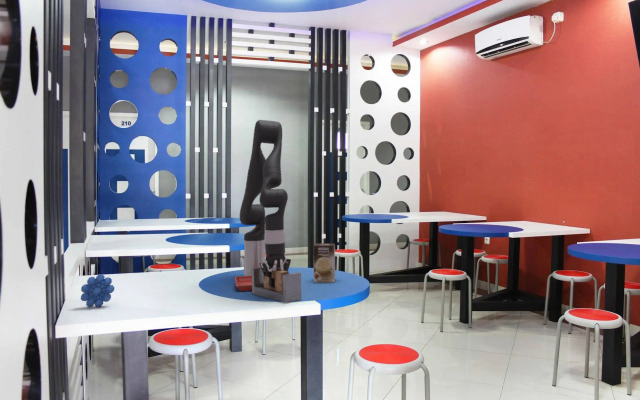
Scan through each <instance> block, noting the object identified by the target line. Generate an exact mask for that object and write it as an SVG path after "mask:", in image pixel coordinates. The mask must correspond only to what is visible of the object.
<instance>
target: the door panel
mask: <svg viewBox="0 0 640 400" xmlns="http://www.w3.org/2000/svg"><path fill="white" fill-rule="evenodd" d="M286 274H290V271H289V270H288V271H283V270H277V269H276V271H275V274H274V278H275V288H271V287H270V286H269V278H268V277H265V276H264V288H266V289H271V290H275V291H279V292H283V275H286Z"/></svg>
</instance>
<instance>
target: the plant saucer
mask: <svg viewBox="0 0 640 400" xmlns="http://www.w3.org/2000/svg"><path fill="white" fill-rule="evenodd" d="M234 278H235V286H236V288H237V289H238V290H239V291H240V292H249V291H252V276H244V275H243V276H241V275H240V276H235V277H234Z"/></svg>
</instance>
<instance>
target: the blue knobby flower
mask: <svg viewBox="0 0 640 400" xmlns="http://www.w3.org/2000/svg"><path fill="white" fill-rule="evenodd" d="M112 282H113V279H112V278H111V277H106V276H105V275H104V274H102V273H101V274H98V275H96V277H95V276H90V277H88V278H87V281H86V283H84V284H83V285H82V286H81V288H80V291H81V292H82V294H81V295H80V300H81V301H82V302H86V303H85V305H86V306H87V308H91V307H93V306H95V307H96V308H101V307H102V306H103V304H104V303H108V302H109V301H111V299H112V295H111V294H112V293H113V292H115V286H114V285H113V284H112Z"/></svg>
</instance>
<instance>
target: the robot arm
mask: <svg viewBox="0 0 640 400" xmlns="http://www.w3.org/2000/svg"><path fill="white" fill-rule="evenodd" d="M282 126H283V125H282V124H281V122H280V121H276V120H275V121H273V120H268V119H267V120H266V119H265V120H263V119H258V120H257V121H256V122H255V124H254V127H253V128H254V130H253V138H252V147H251V156H250V160H249V166H248V170H247V175H246V183H245V190H244V195H243V197H242V202H241V206H240V210H239V222H240V224H241V225H243V226H255V227H254V228H253V229H252V230H250V231H248V232H245V233H244V234H243V246H244V248H243V249H244V256H243V276H252V268H258V267H261V269H262V272H263V274H264V276H265V277H268V278H269V286H270V287H271V288H275V278H274V274H275V271H276V269H277V270H283V271H288V272H289V269H290V265H291V264H292V263H291V262H292V259H290V258H287V257H286V256H285V253H286V236H285V235H286V234H285V226H284V225H285V223H284V221H285V218H284V217H285V212H286V208H287V207H286V206H287V204H288V199H289V198H288V197H289V196H288V193H287V191H286V189H284V188H278V187H280V186H281V184H282V181H283V180H282V168H281V166H282V165H281V164H282V163H281V162H282V161H281V160H282V147H283V127H282ZM262 144H271V145H273V148H272V150H271V151H270V153H269V155H268V156H267V158H266V157H265V155H264V154H263V150H262ZM258 196H259V204H258V203H257V204H253V203H254V201H255V200H256V198H258ZM269 208H270V209H271V208H273V209H274V208H275V209H277V208H278V210H276V212H273V213H270V214H269V213H268V214H267V215H266V210H265V209H269ZM267 266H268V268H267Z"/></svg>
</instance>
